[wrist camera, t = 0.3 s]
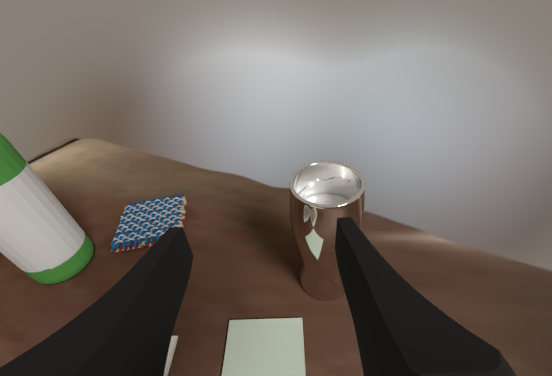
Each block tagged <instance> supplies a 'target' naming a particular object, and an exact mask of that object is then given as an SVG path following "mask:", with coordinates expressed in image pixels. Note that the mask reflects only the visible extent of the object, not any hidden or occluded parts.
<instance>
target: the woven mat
mask: <svg viewBox="0 0 552 376" xmlns="http://www.w3.org/2000/svg"><path fill="white" fill-rule="evenodd" d="M184 198H185V197H184V195H183V194H181V195H180V198H179V196H178V195H177V194H176V195H175V197H173V196H171V197H169V196H166V198H165V199H164V198H161V199H159V198H157V199H156V200H155V199H153V200H151V201H150V199H148V200H147V201H146V202H145V201H143V202H140V201H138V203H137V204H136V202H135V203H133V204H131V203H130V202H129V203H128V206H127V207H125V208H124V209H125V210H126V211H124V212H123V213H124V214H123V216H121V222H120V223H121V224H120V225H119V226H118V229H117V230H118V231H117V232H116V234H115V237H114V239H113V240H112V243H111V244H112V248H111V252H113V253H115V252H119V253H121V252H122V251H127V250H132V249H137V248H141V249H142V248H145V246H146V247H148V246H153V245H154V244H155V243H156V242H157V241H158V239H159V238H160V237H161V236H162V235H163V234H164V233H165V232H166V231H167V230H168V228H169V227H182V228H183V225H182V221H180V219H185V216H182V214H185V212H186V211H185V210H184V208H185V207H184V205H186V204H187V202H186V199H184ZM135 204H136V205H135ZM125 212H126V213H125ZM171 217H172V218H171ZM126 240H127V241H126ZM115 242H116V243H115ZM130 244H131V245H130ZM119 246H120V247H119Z"/></svg>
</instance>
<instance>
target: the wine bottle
mask: <svg viewBox="0 0 552 376" xmlns="http://www.w3.org/2000/svg"><path fill="white" fill-rule="evenodd" d="M0 252H1V253H2V254H3V255H4V256H6V257H7V258H8V259H9V260H10V261H12V262H13V263H14V264H15V265H16V266H18V267H19V268H20V269H21V270H23V271H24V272H25V273H26V274H28V275H29V276H30V277H31V278H32V279H34V280H36V281H37V282H39V283H42V284H56V283H60V282H63V281H66V280H68V279H70V278H72V277H73V276H75V275H76V274H78V273H79V272H80V271H81V270H83V269H84V268H85V267H86V266H87V264H88V263H89V262H90V260H91V258H92V256H93V253H94V247H93V243H92V241H91V240H90V239H89V237H88V236H87V235H86V234H85V233H84V231H83V230H82V229H81V227H80V226H79V225H78V224H77V223H76V221H75V220H74V219H73V218H72V216H71V215H70V214H69V213H68V212H67V210H66V209H65V208H64V207H63V206H62V204H61V203H60V202H59V201H58V199H57V198H56V197H55V196H54V195H53V193H52V192H51V191H50V190H49V189H48V187H47V186H46V185H45V184H44V183H43V181H42V180H41V179H40V178H39V176H38V175H37V174H36V173H35V172H34V170H33V169H32V168H31V167H30V166H29V164H28V163H27V162H26V161H25V160H24V159H23V157H22V156H21V155H20V154H19V153H18V151H17V150H16V149H15V148H14V147H13V145H11V143H10V142H9V141H8V140H7V139H6V138H5V137H4V136H3V135H2V134H1V133H0Z"/></svg>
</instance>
